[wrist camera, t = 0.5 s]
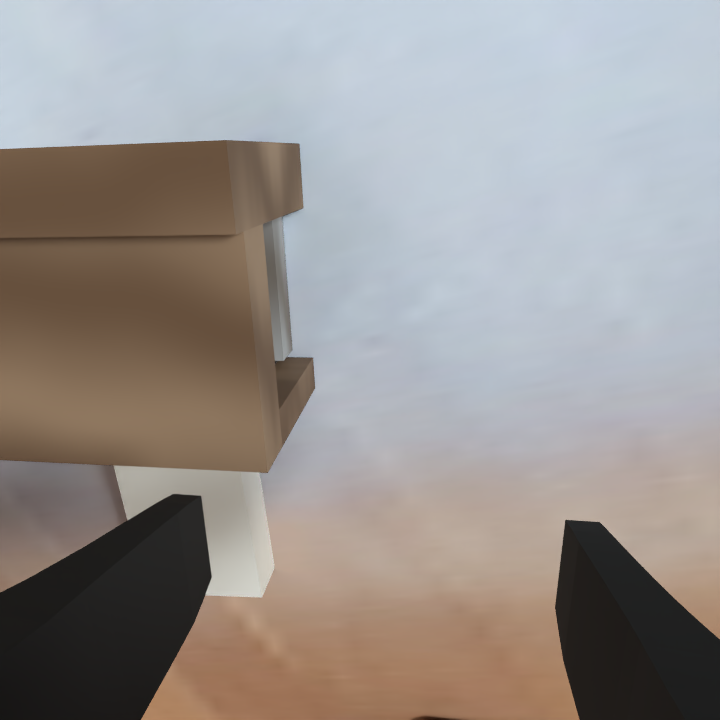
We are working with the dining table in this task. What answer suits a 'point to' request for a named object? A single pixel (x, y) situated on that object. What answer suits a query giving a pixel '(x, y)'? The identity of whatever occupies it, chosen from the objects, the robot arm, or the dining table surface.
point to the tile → (213, 520)
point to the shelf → (148, 305)
